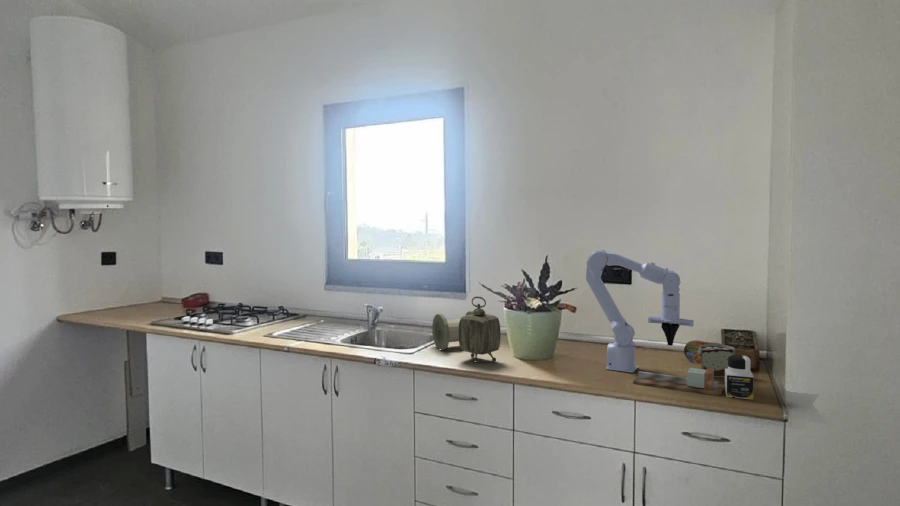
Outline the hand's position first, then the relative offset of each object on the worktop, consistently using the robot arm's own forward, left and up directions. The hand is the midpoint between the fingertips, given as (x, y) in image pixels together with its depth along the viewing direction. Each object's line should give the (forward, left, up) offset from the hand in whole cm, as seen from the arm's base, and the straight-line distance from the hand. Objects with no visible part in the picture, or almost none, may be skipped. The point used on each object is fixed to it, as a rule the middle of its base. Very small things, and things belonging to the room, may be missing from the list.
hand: (670, 344), depth 190 cm
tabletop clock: (-66, -19, -10) cm, 69 cm away
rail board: (+5, -14, -10) cm, 18 cm away
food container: (+13, +5, -10) cm, 17 cm away
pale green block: (+11, -14, -9) cm, 19 cm away
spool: (-85, -4, -10) cm, 86 cm away
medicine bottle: (+22, -15, -10) cm, 29 cm away
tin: (+9, +19, -10) cm, 24 cm away
